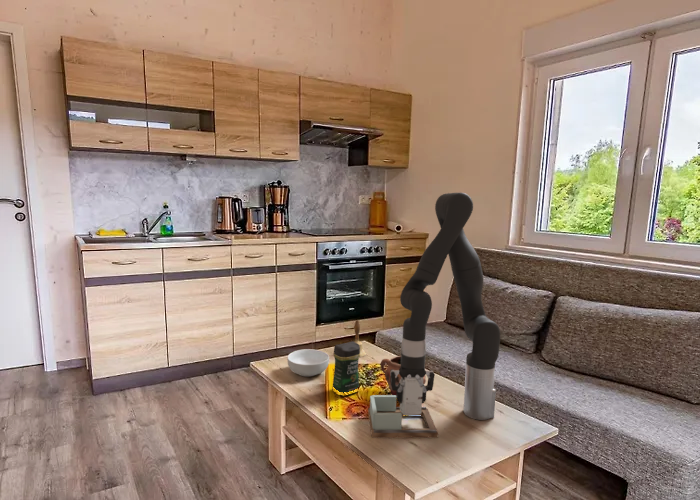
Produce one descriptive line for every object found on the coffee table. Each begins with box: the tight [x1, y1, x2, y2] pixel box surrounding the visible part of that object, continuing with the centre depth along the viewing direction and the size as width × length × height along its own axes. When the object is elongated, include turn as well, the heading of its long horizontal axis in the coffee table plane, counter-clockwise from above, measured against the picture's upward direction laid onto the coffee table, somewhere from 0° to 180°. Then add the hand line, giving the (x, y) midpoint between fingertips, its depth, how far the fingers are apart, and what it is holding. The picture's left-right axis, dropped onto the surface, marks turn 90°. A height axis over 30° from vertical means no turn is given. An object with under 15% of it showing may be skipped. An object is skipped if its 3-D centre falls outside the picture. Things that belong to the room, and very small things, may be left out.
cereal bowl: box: [287, 348, 330, 378], centre depth 175 cm, size 17×17×7 cm
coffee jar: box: [332, 340, 360, 393], centre depth 158 cm, size 10×8×19 cm
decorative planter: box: [380, 355, 427, 397], centre depth 156 cm, size 20×12×14 cm, turn 51°
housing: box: [369, 394, 403, 430], centre depth 136 cm, size 9×13×5 cm
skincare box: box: [399, 377, 423, 415], centre depth 136 cm, size 6×4×12 cm
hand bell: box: [353, 319, 367, 358], centre depth 196 cm, size 8×8×16 cm
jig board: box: [367, 406, 439, 439], centre depth 137 cm, size 20×15×2 cm
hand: (410, 402), depth 136 cm, fingers closed on skincare box, 6 cm apart
